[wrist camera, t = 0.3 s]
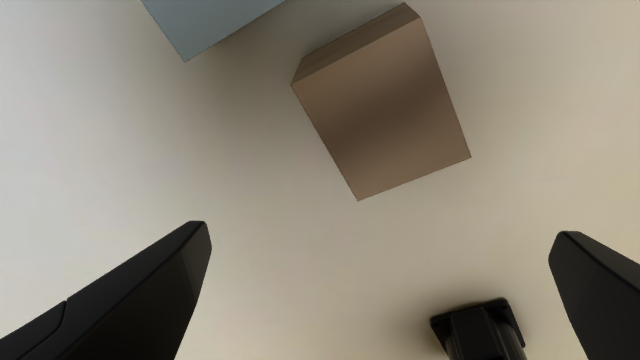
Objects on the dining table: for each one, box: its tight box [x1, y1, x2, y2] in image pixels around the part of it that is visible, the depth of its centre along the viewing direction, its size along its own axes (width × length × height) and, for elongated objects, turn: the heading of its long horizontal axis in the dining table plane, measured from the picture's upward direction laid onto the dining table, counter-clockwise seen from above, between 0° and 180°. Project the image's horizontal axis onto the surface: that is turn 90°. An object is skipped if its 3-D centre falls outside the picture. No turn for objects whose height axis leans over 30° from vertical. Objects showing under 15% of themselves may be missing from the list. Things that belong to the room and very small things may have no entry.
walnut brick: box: [290, 2, 471, 201], centre depth 19 cm, size 7×6×5 cm
